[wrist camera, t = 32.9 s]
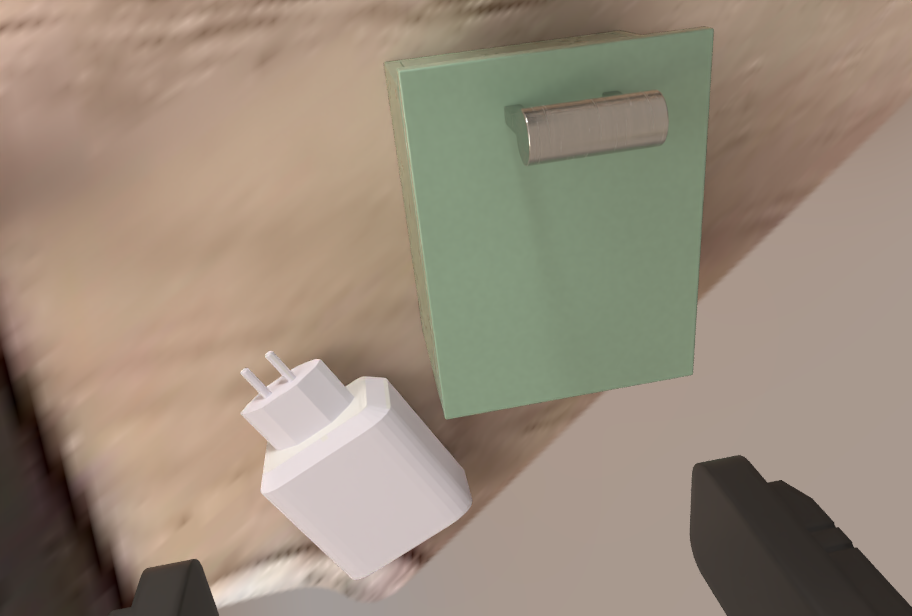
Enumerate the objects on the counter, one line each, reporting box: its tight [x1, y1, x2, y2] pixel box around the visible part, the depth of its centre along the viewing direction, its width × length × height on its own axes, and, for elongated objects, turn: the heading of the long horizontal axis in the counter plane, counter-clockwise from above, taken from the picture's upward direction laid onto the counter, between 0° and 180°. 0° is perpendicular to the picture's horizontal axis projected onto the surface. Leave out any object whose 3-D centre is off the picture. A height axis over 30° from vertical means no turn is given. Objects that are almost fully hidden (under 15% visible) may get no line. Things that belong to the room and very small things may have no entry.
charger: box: [240, 351, 472, 580], centre depth 43 cm, size 5×9×15 cm
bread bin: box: [384, 31, 640, 409], centre depth 37 cm, size 16×13×9 cm
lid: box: [397, 26, 714, 419], centre depth 30 cm, size 16×13×5 cm
